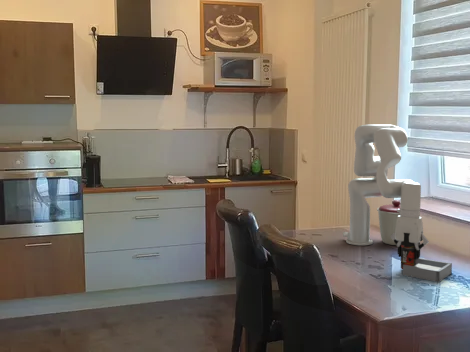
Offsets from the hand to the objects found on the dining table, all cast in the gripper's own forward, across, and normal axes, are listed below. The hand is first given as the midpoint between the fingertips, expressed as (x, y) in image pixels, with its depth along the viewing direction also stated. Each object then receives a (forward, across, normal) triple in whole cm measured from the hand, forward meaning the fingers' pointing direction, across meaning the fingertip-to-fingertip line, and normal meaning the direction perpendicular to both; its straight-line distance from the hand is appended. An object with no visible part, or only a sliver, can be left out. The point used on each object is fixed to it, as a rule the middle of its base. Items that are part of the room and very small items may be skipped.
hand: (408, 257), depth 216 cm
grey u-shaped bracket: (+6, +7, 0) cm, 9 cm away
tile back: (+6, +5, 0) cm, 8 cm away
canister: (+6, -23, +40) cm, 46 cm away
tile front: (+6, +10, 0) cm, 12 cm away
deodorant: (+5, 0, 0) cm, 5 cm away
